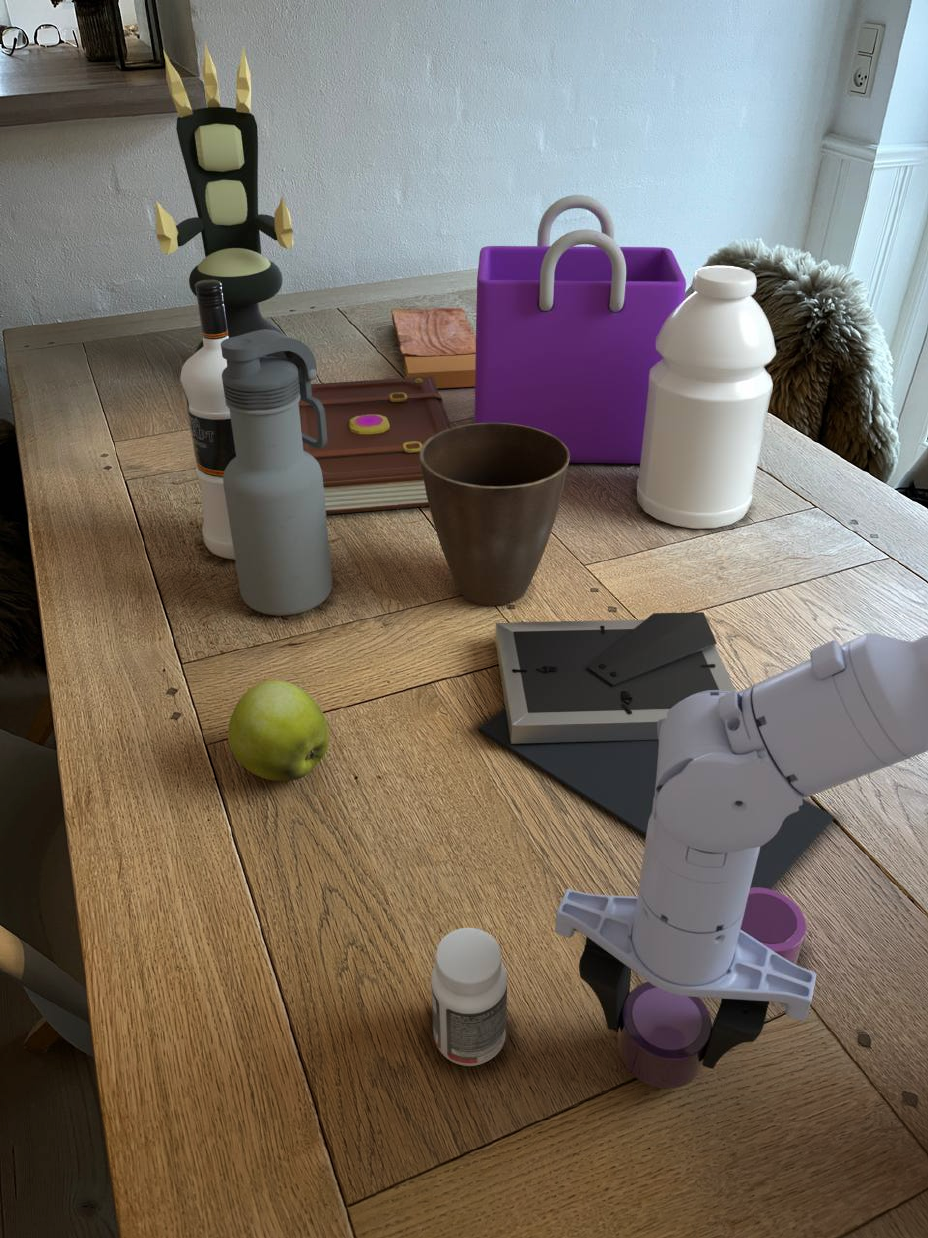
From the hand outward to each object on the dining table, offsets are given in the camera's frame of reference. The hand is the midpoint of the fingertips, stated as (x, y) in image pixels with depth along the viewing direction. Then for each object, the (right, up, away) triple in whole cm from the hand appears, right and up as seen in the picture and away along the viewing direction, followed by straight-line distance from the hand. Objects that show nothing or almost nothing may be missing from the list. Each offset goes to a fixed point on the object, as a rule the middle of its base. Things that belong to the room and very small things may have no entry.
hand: (664, 1035), depth 62 cm
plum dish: (+8, +3, +9) cm, 12 cm away
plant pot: (-9, +29, +47) cm, 56 cm away
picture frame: (+1, +19, +32) cm, 38 cm away
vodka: (-38, +35, +54) cm, 75 cm away
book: (-25, +48, +73) cm, 91 cm away
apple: (-28, +13, +24) cm, 39 cm away
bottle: (+16, +40, +62) cm, 76 cm away
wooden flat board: (-17, +69, +104) cm, 126 cm away
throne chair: (-48, +67, +100) cm, 129 cm away
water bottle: (-31, +29, +46) cm, 62 cm away
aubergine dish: (0, -1, +1) cm, 1 cm away
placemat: (+3, +13, +23) cm, 27 cm away
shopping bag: (+2, +51, +78) cm, 93 cm away
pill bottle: (-12, -1, +3) cm, 13 cm away
